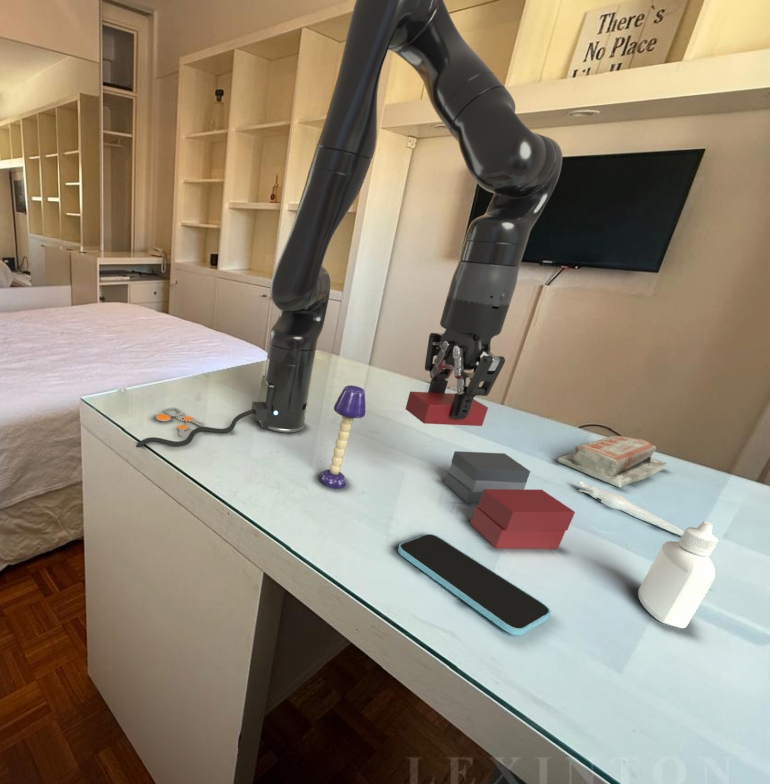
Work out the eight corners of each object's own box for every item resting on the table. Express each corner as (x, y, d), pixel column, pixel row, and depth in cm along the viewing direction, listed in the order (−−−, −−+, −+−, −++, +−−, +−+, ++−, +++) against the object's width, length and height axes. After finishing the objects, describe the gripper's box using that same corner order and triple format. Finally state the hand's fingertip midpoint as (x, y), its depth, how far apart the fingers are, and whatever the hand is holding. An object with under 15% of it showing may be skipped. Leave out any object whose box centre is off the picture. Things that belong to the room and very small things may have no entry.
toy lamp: (349, 479, 76) (369, 385, 70) (349, 493, 72) (370, 395, 66) (319, 473, 77) (337, 380, 71) (318, 486, 73) (336, 389, 67)
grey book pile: (466, 503, 71) (477, 469, 69) (442, 481, 77) (452, 450, 75) (522, 504, 72) (534, 471, 70) (494, 482, 78) (505, 451, 76)
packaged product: (632, 465, 76) (564, 440, 85) (620, 490, 78) (555, 463, 86) (676, 447, 84) (610, 426, 92) (665, 470, 86) (601, 447, 94)
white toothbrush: (570, 490, 77) (575, 480, 76) (580, 487, 78) (584, 478, 77) (688, 546, 64) (694, 535, 64) (697, 542, 65) (703, 531, 65)
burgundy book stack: (496, 549, 61) (510, 512, 59) (469, 523, 66) (481, 487, 64) (561, 550, 61) (577, 513, 59) (529, 524, 67) (542, 489, 65)
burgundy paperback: (423, 423, 66) (429, 404, 65) (405, 409, 71) (409, 391, 70) (482, 426, 67) (488, 407, 66) (459, 411, 72) (465, 394, 71)
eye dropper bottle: (629, 608, 52) (675, 521, 48) (639, 587, 56) (683, 504, 51) (683, 635, 49) (737, 544, 45) (690, 611, 52) (741, 525, 48)
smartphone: (431, 532, 62) (555, 610, 49) (429, 538, 62) (552, 618, 50) (395, 545, 59) (517, 632, 46) (393, 552, 59) (514, 641, 47)
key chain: (149, 413, 96) (149, 409, 96) (178, 408, 100) (179, 404, 100) (178, 438, 86) (178, 433, 86) (210, 431, 90) (210, 427, 89)
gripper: (424, 287, 69) (397, 391, 75) (487, 304, 55) (449, 429, 61) (471, 291, 69) (441, 393, 75) (545, 308, 56) (501, 431, 62)
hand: (445, 409), depth 68 cm, fingers closed on burgundy paperback, 5 cm apart
